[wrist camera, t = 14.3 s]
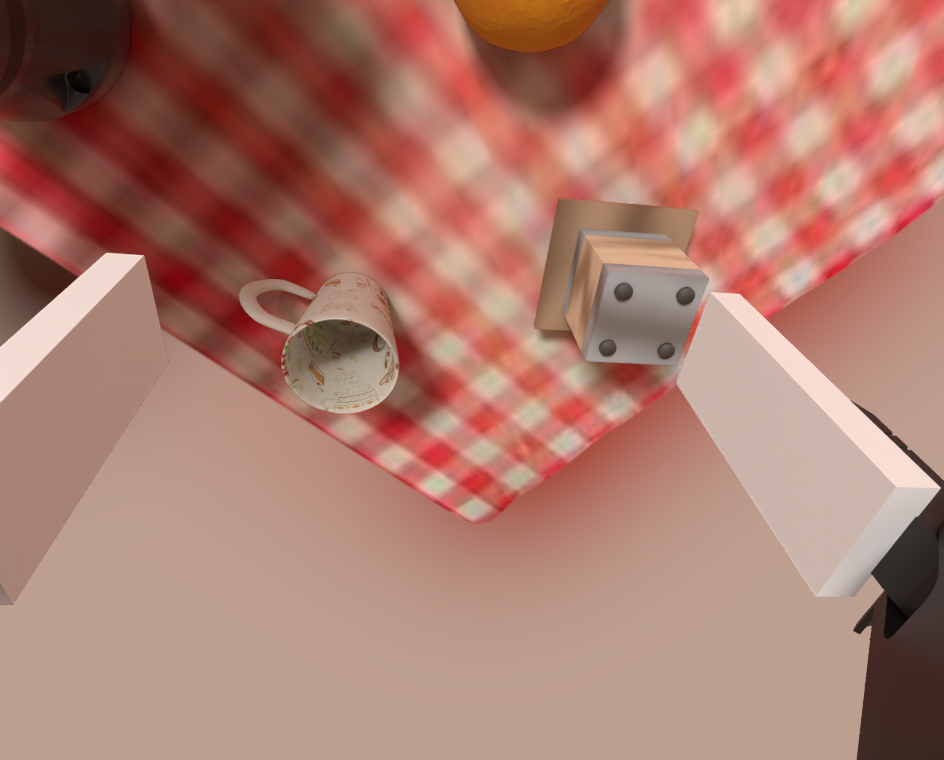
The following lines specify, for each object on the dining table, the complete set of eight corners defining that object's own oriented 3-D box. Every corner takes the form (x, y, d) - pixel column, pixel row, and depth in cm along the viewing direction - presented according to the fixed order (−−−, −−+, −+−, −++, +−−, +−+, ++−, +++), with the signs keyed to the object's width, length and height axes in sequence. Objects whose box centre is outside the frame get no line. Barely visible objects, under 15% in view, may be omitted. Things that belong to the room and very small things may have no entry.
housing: (579, 228, 44) (610, 273, 37) (665, 234, 45) (711, 280, 38) (561, 309, 48) (586, 363, 41) (641, 313, 49) (678, 367, 42)
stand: (529, 312, 51) (534, 328, 49) (552, 188, 45) (560, 200, 42) (645, 318, 53) (657, 335, 50) (683, 199, 46) (699, 212, 44)
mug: (380, 357, 53) (374, 427, 44) (241, 308, 49) (206, 374, 40) (416, 282, 49) (417, 343, 40) (268, 221, 45) (235, 275, 36)
